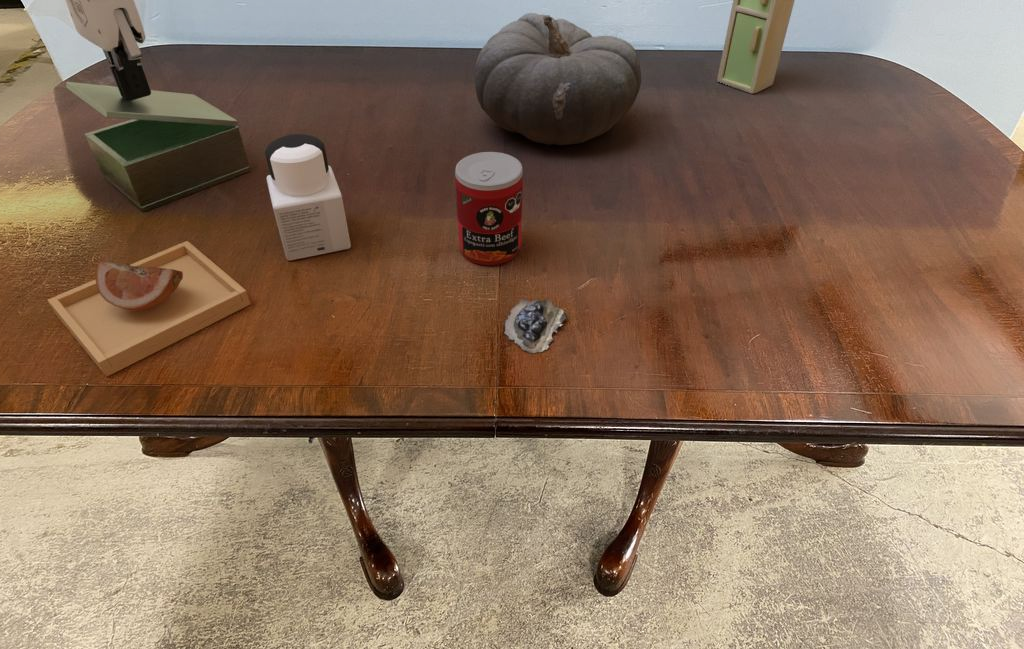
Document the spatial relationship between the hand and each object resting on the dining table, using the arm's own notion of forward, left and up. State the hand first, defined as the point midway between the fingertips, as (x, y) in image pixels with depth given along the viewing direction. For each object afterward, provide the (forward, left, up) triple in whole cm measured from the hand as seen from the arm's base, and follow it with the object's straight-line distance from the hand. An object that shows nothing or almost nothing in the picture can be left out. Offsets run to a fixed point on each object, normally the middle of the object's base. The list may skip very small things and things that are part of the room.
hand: (137, 96), depth 86 cm
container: (+6, -28, -12) cm, 31 cm away
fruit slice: (-14, -26, -11) cm, 32 cm away
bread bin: (+2, 0, -12) cm, 12 cm away
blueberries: (+13, -59, -12) cm, 61 cm away
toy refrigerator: (+89, -41, -12) cm, 99 cm away
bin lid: (+2, 0, -2) cm, 3 cm away
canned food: (+20, -45, -12) cm, 50 cm away
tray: (-14, -27, -12) cm, 32 cm away
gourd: (+52, -28, -12) cm, 60 cm away
